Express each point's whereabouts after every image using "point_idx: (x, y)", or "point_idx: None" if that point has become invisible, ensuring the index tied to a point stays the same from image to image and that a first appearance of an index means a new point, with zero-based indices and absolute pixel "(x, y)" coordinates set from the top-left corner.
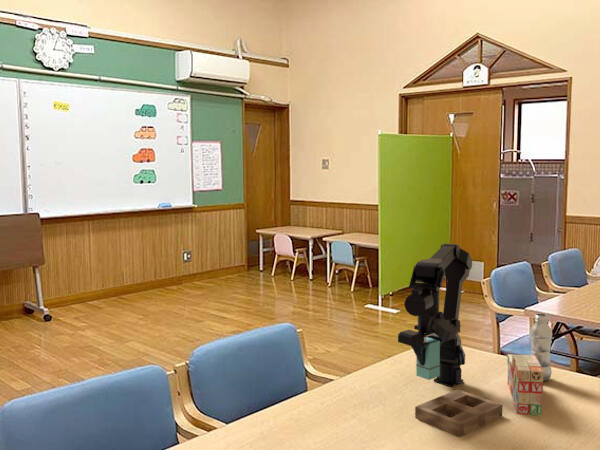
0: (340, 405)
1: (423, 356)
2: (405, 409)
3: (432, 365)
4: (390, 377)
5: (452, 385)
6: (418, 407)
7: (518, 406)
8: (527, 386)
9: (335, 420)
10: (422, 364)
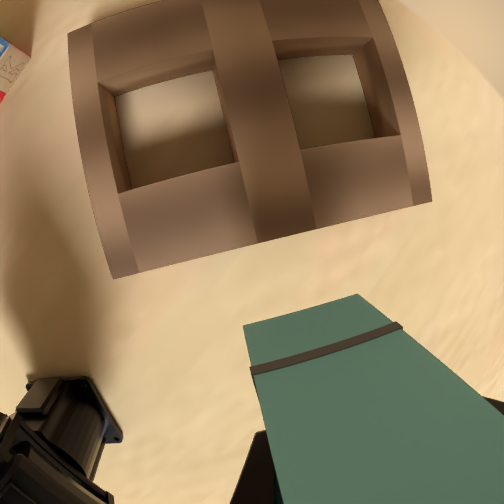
0: (482, 367)
1: (492, 401)
2: (388, 278)
3: (368, 352)
4: None
5: (78, 377)
6: (427, 187)
7: (15, 47)
8: None
9: None
10: None
